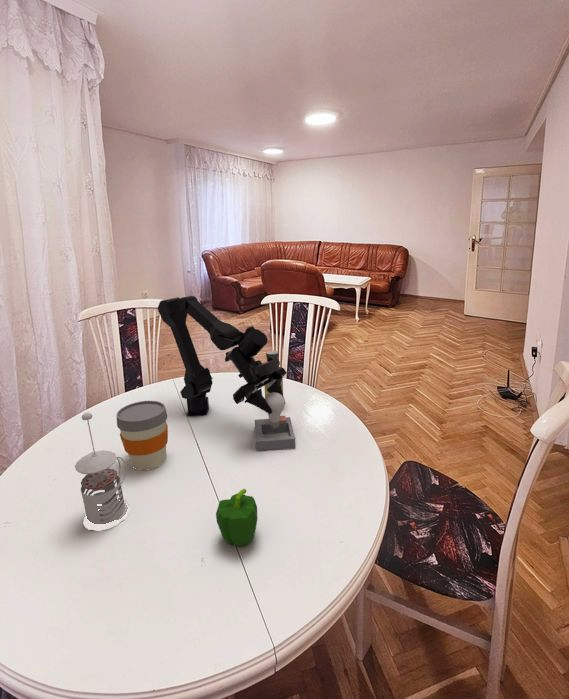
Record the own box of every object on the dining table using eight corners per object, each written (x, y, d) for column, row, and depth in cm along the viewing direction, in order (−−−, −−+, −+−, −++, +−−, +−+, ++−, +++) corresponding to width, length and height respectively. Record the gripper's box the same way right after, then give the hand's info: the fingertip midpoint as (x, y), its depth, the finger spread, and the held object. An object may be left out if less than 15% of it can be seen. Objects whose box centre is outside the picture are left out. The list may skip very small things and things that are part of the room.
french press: (71, 525, 86) (47, 420, 78) (112, 492, 96) (93, 396, 88) (107, 536, 82) (84, 428, 75) (145, 501, 92) (129, 402, 85)
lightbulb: (283, 434, 112) (282, 398, 109) (262, 432, 113) (260, 397, 110) (287, 423, 118) (286, 389, 115) (267, 422, 119) (265, 388, 116)
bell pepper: (231, 560, 75) (227, 516, 72) (211, 534, 82) (207, 493, 79) (268, 539, 80) (266, 497, 77) (247, 517, 86) (244, 477, 83)
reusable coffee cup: (140, 446, 115) (132, 398, 111) (180, 450, 113) (174, 401, 108) (114, 472, 104) (104, 420, 99) (158, 476, 101) (150, 423, 97)
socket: (256, 451, 111) (255, 439, 110) (255, 428, 123) (254, 417, 122) (295, 448, 112) (295, 436, 111) (290, 425, 124) (290, 414, 123)
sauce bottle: (283, 411, 134) (281, 355, 128) (264, 412, 134) (262, 356, 128) (284, 403, 140) (282, 349, 134) (266, 403, 140) (263, 349, 134)
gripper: (238, 358, 104) (273, 408, 101) (280, 341, 118) (312, 383, 115) (218, 380, 110) (251, 427, 108) (261, 361, 125) (290, 401, 122)
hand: (278, 408), depth 113 cm, fingers closed on lightbulb, 6 cm apart
